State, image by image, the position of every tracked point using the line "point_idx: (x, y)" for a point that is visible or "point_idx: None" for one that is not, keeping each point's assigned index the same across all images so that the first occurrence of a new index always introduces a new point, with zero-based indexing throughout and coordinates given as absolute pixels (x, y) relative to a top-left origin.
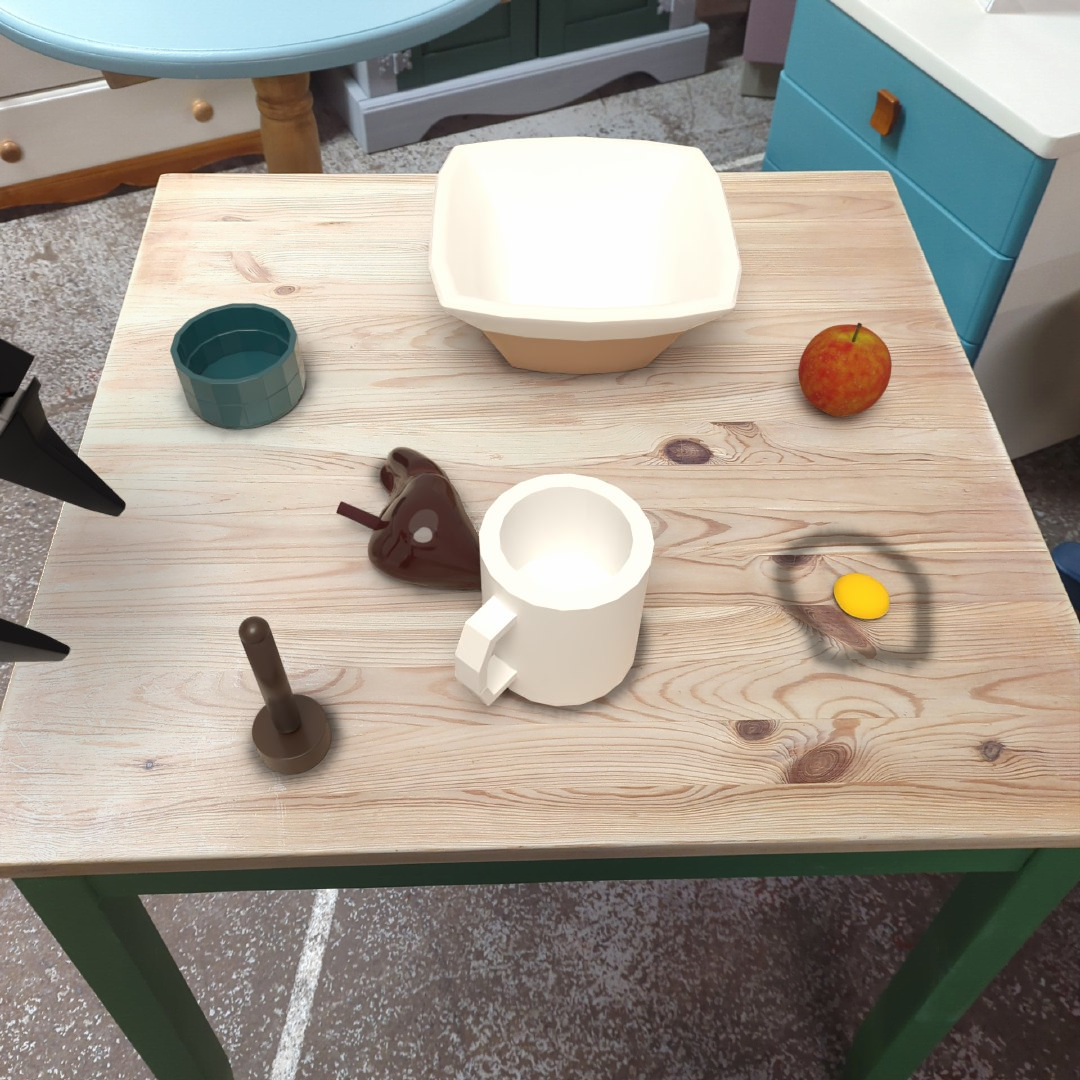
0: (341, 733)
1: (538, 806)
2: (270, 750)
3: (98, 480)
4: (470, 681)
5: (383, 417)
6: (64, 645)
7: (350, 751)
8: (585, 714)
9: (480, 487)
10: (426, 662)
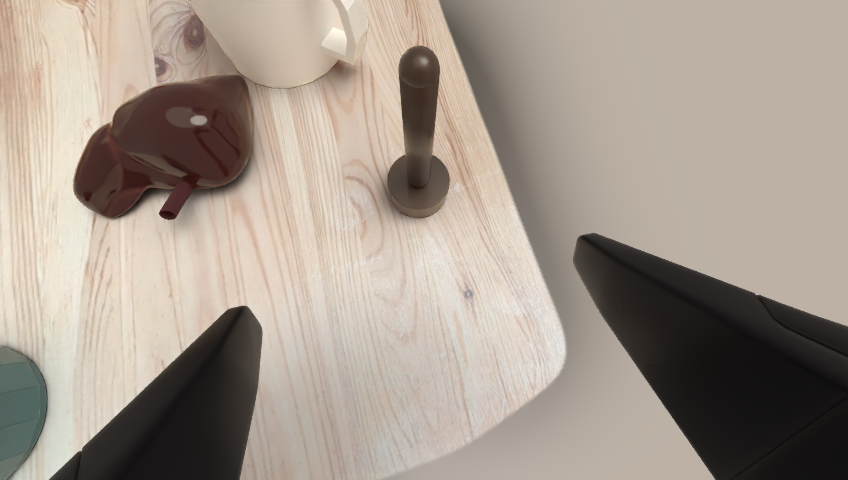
0: None
1: (422, 26)
2: (443, 185)
3: (175, 368)
4: (361, 21)
5: (28, 243)
6: (589, 238)
7: None
8: None
9: None
10: (326, 120)
